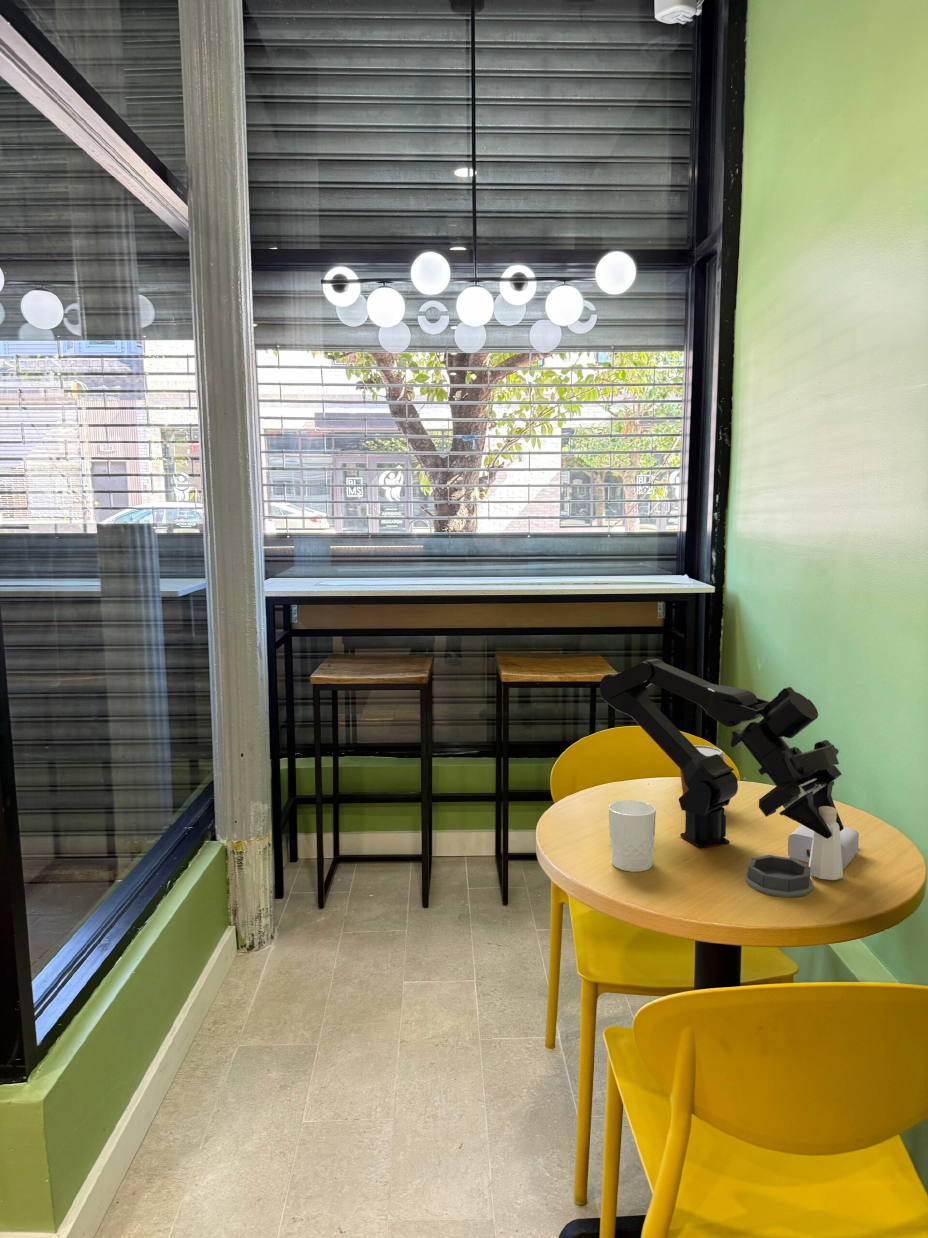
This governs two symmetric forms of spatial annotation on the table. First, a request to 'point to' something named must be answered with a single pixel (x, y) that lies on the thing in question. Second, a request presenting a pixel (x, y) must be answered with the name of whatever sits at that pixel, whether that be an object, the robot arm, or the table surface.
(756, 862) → the grey octagonal tray
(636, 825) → the white cup
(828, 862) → the pepper shaker
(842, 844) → the charger
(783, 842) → the table surface
